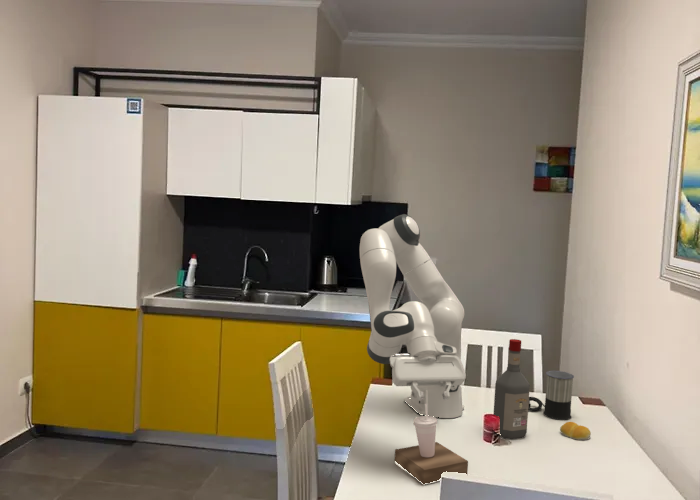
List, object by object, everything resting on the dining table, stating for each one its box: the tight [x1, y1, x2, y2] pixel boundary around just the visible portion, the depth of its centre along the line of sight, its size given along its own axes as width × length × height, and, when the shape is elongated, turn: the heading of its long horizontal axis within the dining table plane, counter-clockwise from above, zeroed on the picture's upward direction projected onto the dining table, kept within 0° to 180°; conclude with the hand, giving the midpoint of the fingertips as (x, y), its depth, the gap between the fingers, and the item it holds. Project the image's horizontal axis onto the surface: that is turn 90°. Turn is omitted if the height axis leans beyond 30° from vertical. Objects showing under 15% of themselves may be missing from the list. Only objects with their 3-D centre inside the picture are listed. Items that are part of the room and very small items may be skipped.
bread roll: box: [559, 421, 592, 441], centre depth 198 cm, size 8×9×4 cm
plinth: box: [394, 441, 469, 485], centre depth 168 cm, size 14×14×4 cm
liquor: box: [493, 338, 531, 440], centre depth 196 cm, size 9×9×30 cm
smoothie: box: [412, 404, 438, 457], centre depth 167 cm, size 6×6×14 cm
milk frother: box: [528, 370, 575, 421], centre depth 218 cm, size 14×16×15 cm
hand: (433, 399), depth 166 cm, fingers open, 6 cm apart
